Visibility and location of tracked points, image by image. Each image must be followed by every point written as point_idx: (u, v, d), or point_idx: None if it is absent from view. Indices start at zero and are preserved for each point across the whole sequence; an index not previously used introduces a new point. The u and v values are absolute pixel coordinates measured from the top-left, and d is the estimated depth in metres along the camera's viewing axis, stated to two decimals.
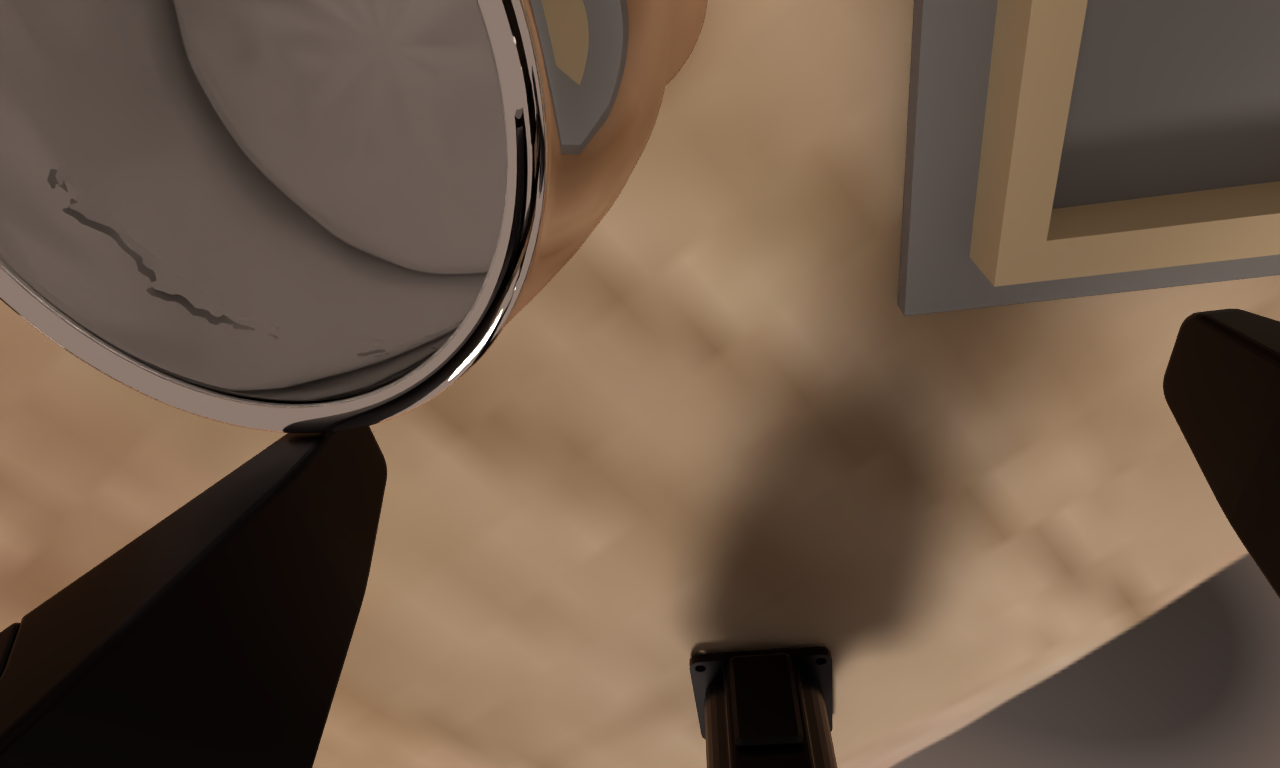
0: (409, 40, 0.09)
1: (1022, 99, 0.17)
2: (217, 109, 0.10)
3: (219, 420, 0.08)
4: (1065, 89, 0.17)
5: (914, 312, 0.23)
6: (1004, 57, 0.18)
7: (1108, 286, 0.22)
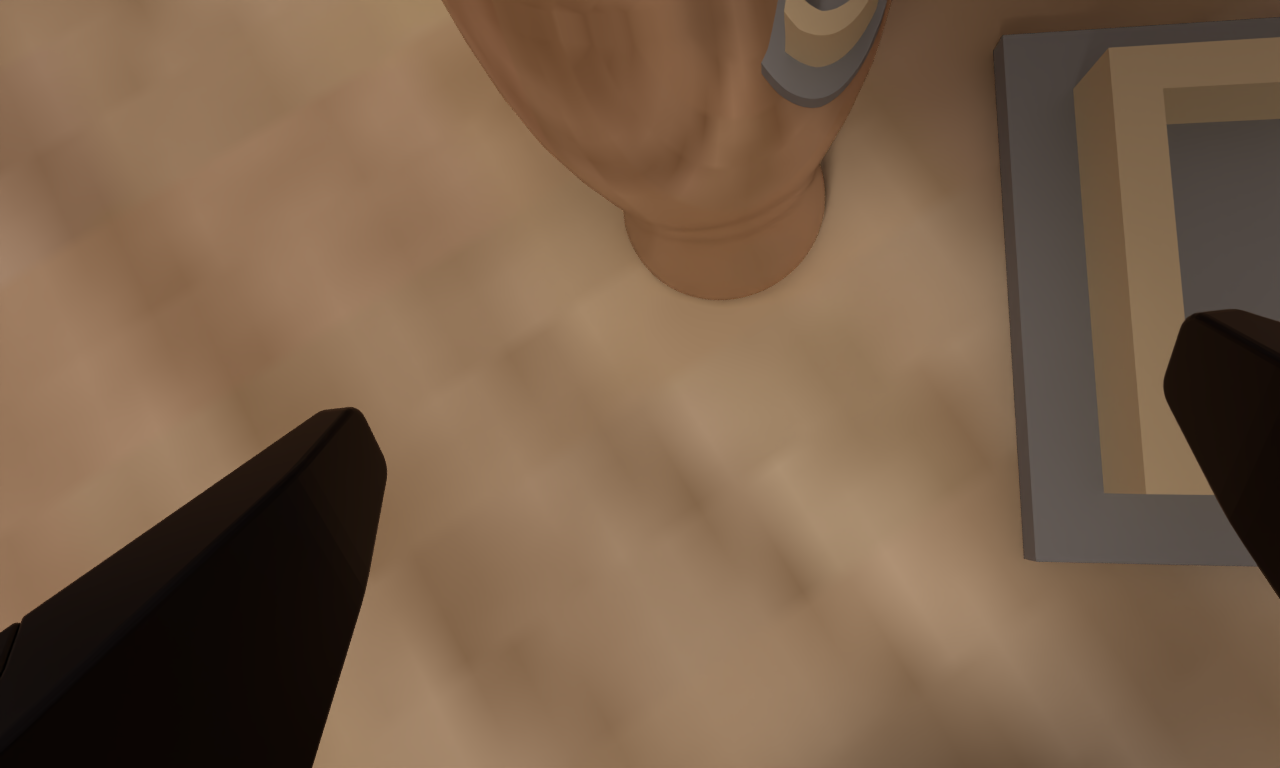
0: None
1: (1133, 289, 0.18)
2: None
3: None
4: (1174, 284, 0.18)
5: (1048, 561, 0.19)
6: (1103, 273, 0.19)
7: None
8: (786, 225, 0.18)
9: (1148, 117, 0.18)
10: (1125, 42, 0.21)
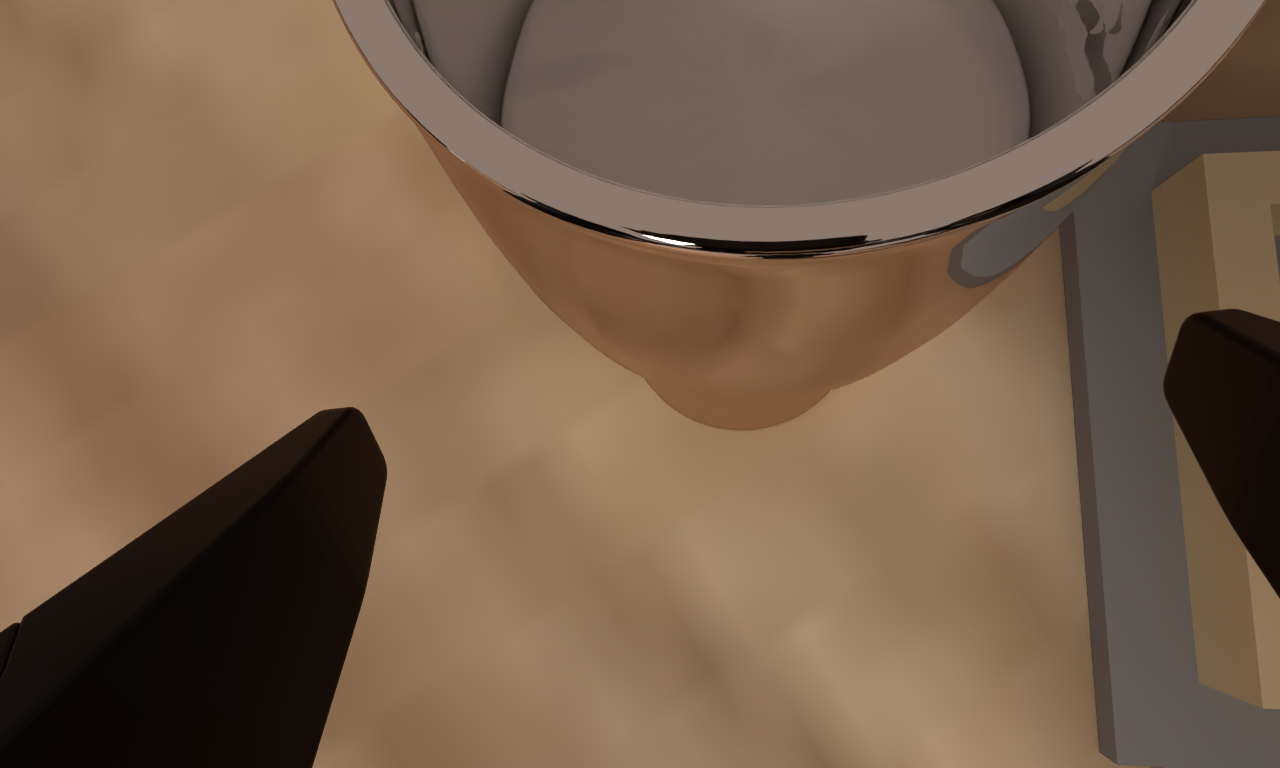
0: (787, 89, 0.08)
1: None
2: None
3: (629, 225, 0.04)
4: None
5: (1131, 763, 0.16)
6: None
7: None
8: None
9: (1253, 239, 0.15)
10: (1212, 138, 0.18)
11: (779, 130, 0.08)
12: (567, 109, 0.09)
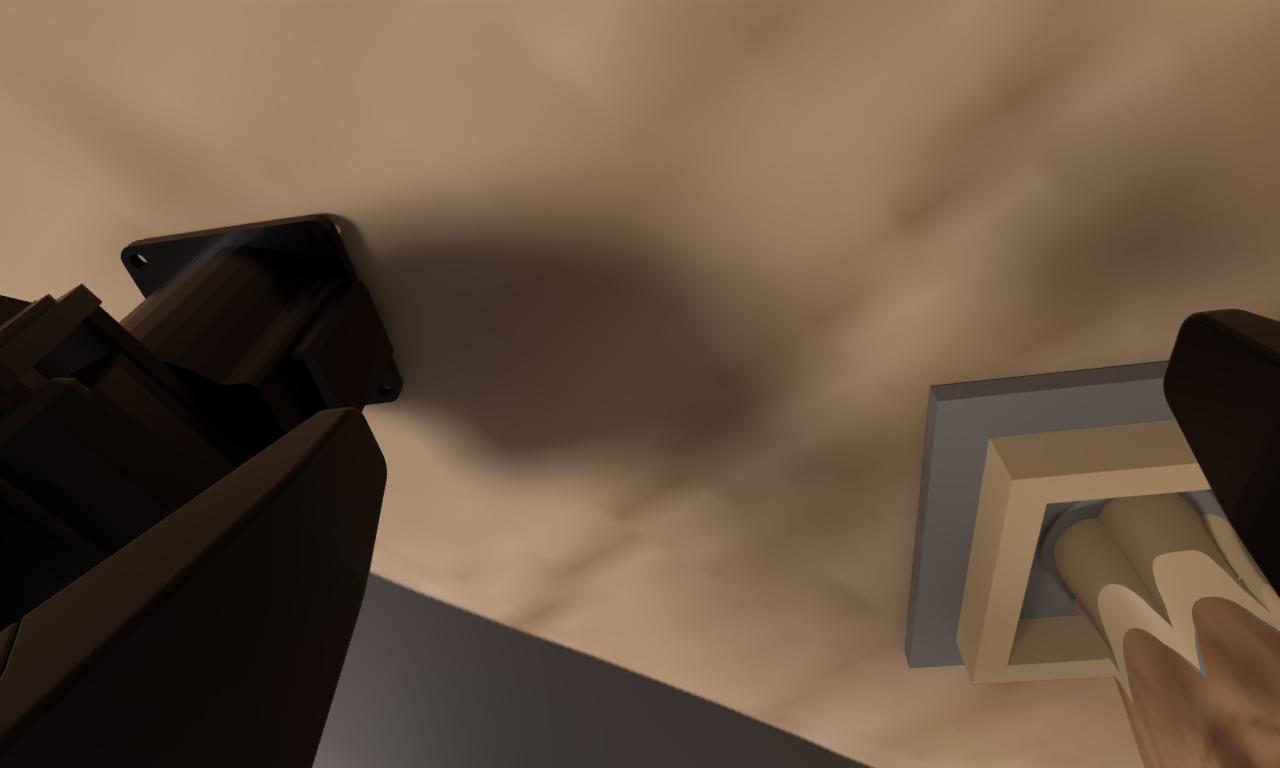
0: None
1: (1183, 466, 0.22)
2: None
3: None
4: (1178, 488, 0.23)
5: (935, 407, 0.24)
6: None
7: (930, 529, 0.27)
8: (1092, 629, 0.25)
9: None
10: None
11: None
12: None
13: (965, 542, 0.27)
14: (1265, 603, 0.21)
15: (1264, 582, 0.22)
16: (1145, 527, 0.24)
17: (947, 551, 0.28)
